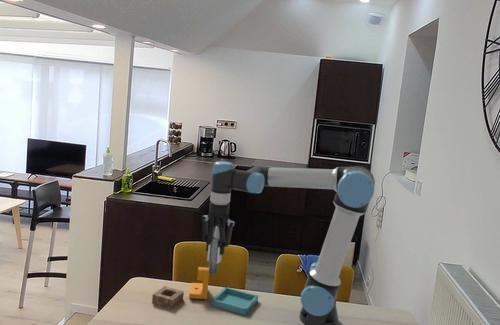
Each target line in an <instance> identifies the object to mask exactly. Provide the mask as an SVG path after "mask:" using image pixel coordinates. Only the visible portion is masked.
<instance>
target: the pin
mask: <svg viewBox="0 0 500 325" xmlns="http://www.w3.org/2000/svg"><path fill="white" fill-rule="evenodd" d="M219 246H220V236H215V235H213V237H212V242H211V253H210V261H209V263H208V264H209V265H208V268H209V275H216V274H218V270H219V263H217V253H218V247H219Z"/></svg>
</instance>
